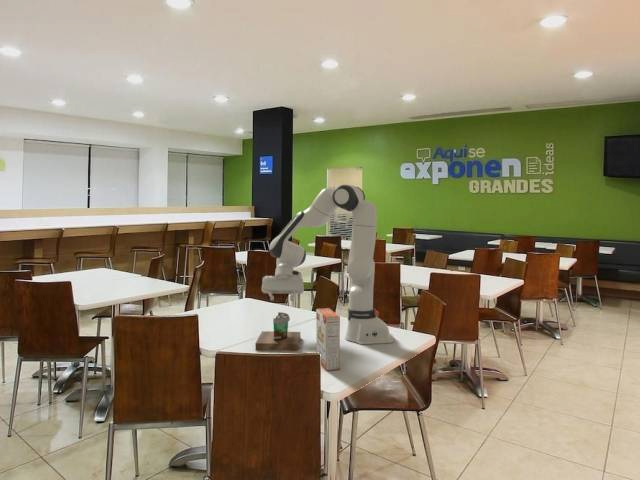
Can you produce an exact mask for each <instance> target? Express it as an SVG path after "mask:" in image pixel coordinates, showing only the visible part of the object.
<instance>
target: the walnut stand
mask: <svg viewBox="0 0 640 480" xmlns="http://www.w3.org/2000/svg"><path fill="white" fill-rule="evenodd" d="M300 342H301V331H288V333H287V338H286V339H284V340H274V331H271V330H270V331H267V330H266V331H265V330H264V331H261V332H260V334H259V336H258V338H257V339H256V342H255V346H254V347H255V351H285V350H287V352H288V350H289V352H291V351H292V352H294V351H296V352H297V351H298V350H299V346H300Z"/></svg>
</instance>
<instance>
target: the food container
mask: <svg viewBox="0 0 640 480" xmlns="http://www.w3.org/2000/svg"><path fill="white" fill-rule="evenodd" d="M290 320H291V318H290V316H289V314H288V313H287V312H286V313H285V312H282V311H281V312H278V314H277V315H276V316H275V318H273V332H274V340H284V339H286V338H287V333H288V332H289V330H288V329H289V322H290Z"/></svg>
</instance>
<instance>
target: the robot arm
mask: <svg viewBox="0 0 640 480" xmlns="http://www.w3.org/2000/svg"><path fill="white" fill-rule="evenodd" d="M376 207H377V206H376V205H375V203H373V202H372V201H370V200H366V195H365V192H364V190H362V188H360V187H358V186H356V185H352V184H342V185H339V186H337V187H335V189H333V188H331V187H325V188H323V189H321V191H320V192H319V193H318V194H317V196H316V197H315V198H314V200H313V201H312V202H311V204H310V205H309V207H307V209H305V210H302V211H298V212H297V214H295V215H294V216H293V217H292V219H291V220H290V221H289V222H288V223H287V224H286V226H284V228H283V229H282V230H281V232H279V233H278V234H277V235H276V236H275V237H274V238H273V239H272V241H271V242H270V244H269V246H268V251H269V254H270V256H271V257H273V258H276V261H275V262H276V263H275V264H276V268H275V270H274V271H275V272H274V275H265V276H263V277H262V280H261V282H262V284H261V292H262V293H263V294H268V295H269V300H270V301H275V300H274V299H275V297H274V295H273V294H289V295H290V294H292V295H290V296H289V297H290V298H289V299H290V301H291V302H292V301H294V299H295V297H296V296H297V295H298V294H299V295H300V294H303V293H304V292H305V286H304V285H305V284H304V279H303V276H302V272H301V271H299V270H294V268H298V267H299V266H301V265H303V264H304V263H305V261H306V257H307V252H306V249H305V247H303V246H301V245H299V244H297V243H294V242H292V241H290V240H289V239H290V238H291V237H292V236H293V235H294V233H295V232H296V231H297V230H298V229H300V228H320V227H321V228H322V227H323V226H325V225H326V224H327V223H328V222H329V221H330V220H331V217H332V216H333V214H334V213H335V211H336V210H337V209H338V208H340V209H341V210H344V211H347V212H351V214H352V224H351V225H352V226H351V238H350V239H351V241H350V247H349V253H348V261H347V267H346V268H347V274H348V277H350V284H349V292H348V309H347V321H348V322H347V329H346V332H345V337H344V338H345V340H347V341H349V342H353V343H357V344H359V345H376V344H391V343H394V341H395V338H394V335H393V334H391V333H390V328H389V326H388V325H387V323H385V322H384V320H382V319H381V318H379V317H378V316H379V315H380V312H379V311H378V310H377V309H376V308H374V286H375V285H374V284H375V270H376V268H375V267H376V263H375V260H374V254H375V249H376V248H375V246H376V238H377V225H378V218H377V208H376Z"/></svg>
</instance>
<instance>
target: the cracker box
mask: <svg viewBox="0 0 640 480" xmlns="http://www.w3.org/2000/svg"><path fill="white" fill-rule="evenodd" d="M315 311H316V313H315V314H316V315H315V316H316V319H315V321H316V322H315V323H316V325H315V327H316V328H315V329H316V332H315V333H316V334H315V335H316V337H315V339H316V353H317V352H319V353H320V354H321V364H320V365H321V366H322V368H323V369H324V370H325V371H327V372H328V371H337V370H340V369H341V367H340V364H341V363H340V359H341V358H340V357H341V356H340V355H341V351H340V350H341V349H340V348H341V345H340V344H341V343H340V342H341V341H340V340H341V337H340V336H341V334H340V331H341V325H340V324H341V323H340V321H341V318H340V316H339V315H338V314H337V313H336V312H335V311H333V310H332V309H331V308H330V307H326V308H316V310H315Z"/></svg>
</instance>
